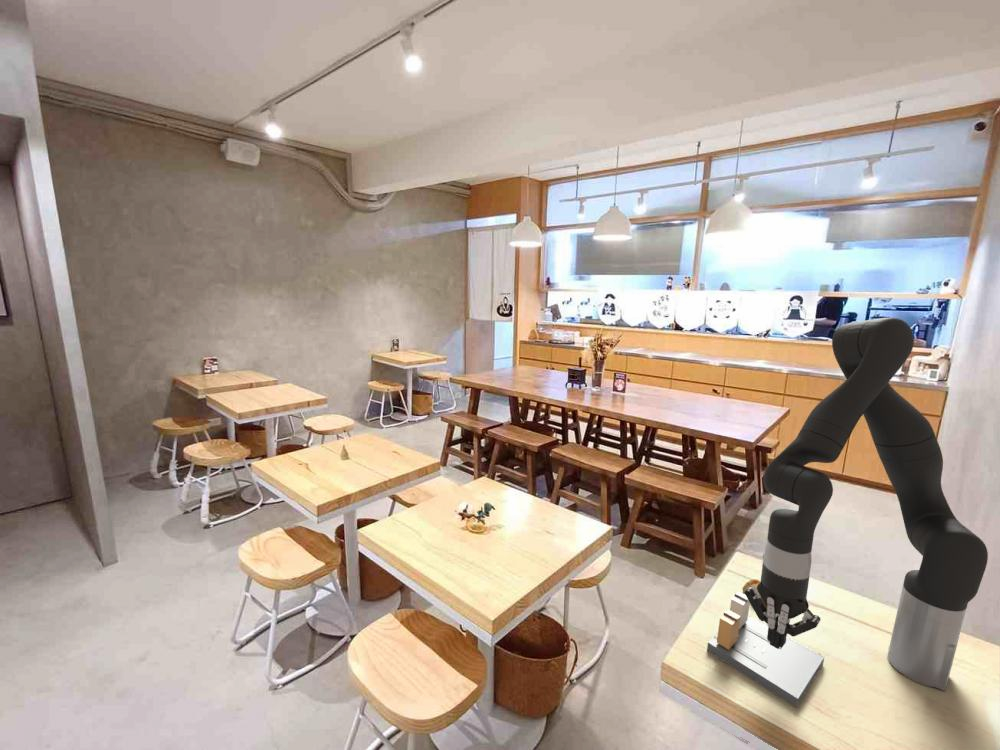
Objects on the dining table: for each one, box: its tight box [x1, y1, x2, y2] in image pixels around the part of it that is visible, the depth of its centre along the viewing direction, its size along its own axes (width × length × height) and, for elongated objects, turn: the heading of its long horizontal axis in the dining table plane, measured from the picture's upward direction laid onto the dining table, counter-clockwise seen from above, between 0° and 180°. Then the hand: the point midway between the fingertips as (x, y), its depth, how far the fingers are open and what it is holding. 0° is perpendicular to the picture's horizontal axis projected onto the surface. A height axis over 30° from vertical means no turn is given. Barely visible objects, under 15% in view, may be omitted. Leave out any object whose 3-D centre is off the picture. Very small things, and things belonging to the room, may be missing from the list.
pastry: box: [742, 578, 767, 608], centre depth 111 cm, size 9×7×4 cm
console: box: [706, 615, 825, 709], centre depth 95 cm, size 17×16×2 cm
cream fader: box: [729, 591, 751, 629], centre depth 101 cm, size 3×4×6 cm, turn 129°
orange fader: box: [717, 609, 741, 650], centre depth 95 cm, size 3×4×6 cm, turn 129°
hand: (775, 644), depth 88 cm, fingers closed
